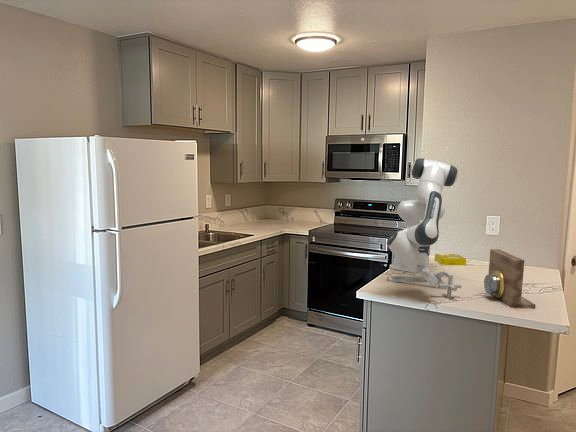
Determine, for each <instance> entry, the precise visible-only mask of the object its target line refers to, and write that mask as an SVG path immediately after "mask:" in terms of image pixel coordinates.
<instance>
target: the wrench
mask: <svg viewBox="0 0 576 432" xmlns="http://www.w3.org/2000/svg"><path fill="white" fill-rule="evenodd" d="M449 274H450V273H448V272H447V271H445V270H444V271H443V270H441V271H438V272H436V273H435V274H433V275H434V276H435V277H436V278H437V279H438V282H437V283H438V284H443V282H444V281H442V278H443V277H446V278H448V277H449ZM389 278H391V280H390V279H389ZM386 281H387V282H392V283H399V282H400V283H428V282H427V281H426V280H425V279H424V278H423V277H422V276H421V275H395V274H394V275H391V274H390V275H387V277H386ZM433 288H436V287H435V286H433ZM438 288H439V287H437V288H436V289H438Z"/></svg>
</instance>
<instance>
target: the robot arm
mask: <svg viewBox="0 0 576 432" xmlns="http://www.w3.org/2000/svg"><path fill="white" fill-rule="evenodd" d="M410 168H411V169H410V172H411V176H412V177H413V178H414V179H417V180H419V181H418V184H417V186H416V192H415V194H416V195H415V197H416V198H417V199H408V200H402V201H400V203H399V204H398V205H397V210H396V211H397V214H398V216H399V217H400V219H402V220H403V221H404V223H405V224H406V226H407V228H405V229H403V230H400V231H395V232H392V234H391V235H390V236H389V237H388V239H387V242H386V243H387V247H388V249H389V250H390V251H391V253H392V254H393V255H394V259H393V262H392V263H390V264H389V269H391V270H392V269H393V270H398V271H404V272H409V273H411V274H414V273H415V274H417V275H418V274H419V276H422V277H423V278H424V279H425V280H426V281H427V282H426V283H428V284H429V285H430V286H432V287H434V286H435V287H436V289H438V288H439V287H438V286H439V285H438V283H437V282H438V279H437V278H436V277H435V276H434V274H433V273H432V272H431V271H432V269H431V264H430V254H431V246H432V245H434V244H435V243H436V242H437V241H438V239H439V235H440V234H439V233H440V231H439V222H440V221H439V220H441V219H442V218H443V217H444V215H445V213H446V212H445V211H446V208H445V205H444V204H443V203H442V202H443V199H442V197H443V196H442V192H443V188H444V187H451V186H453V185H454V184H455V183H456V181H457V180H458V177H459V173H458V171H459V170H458V168H457V167H456V166H454V165H453V164H451V165H450V164H448V163H445V162H442V161H436V160H432V159H425V158H423V157H422V158H421V157H419V158H417V159H415V161H414V162H413V163H412V165H411V167H410ZM435 287H434V288H435ZM437 287H438V288H437Z"/></svg>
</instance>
